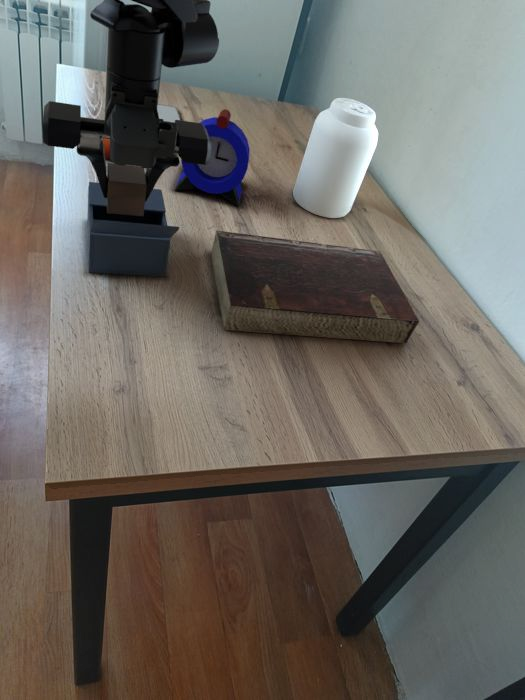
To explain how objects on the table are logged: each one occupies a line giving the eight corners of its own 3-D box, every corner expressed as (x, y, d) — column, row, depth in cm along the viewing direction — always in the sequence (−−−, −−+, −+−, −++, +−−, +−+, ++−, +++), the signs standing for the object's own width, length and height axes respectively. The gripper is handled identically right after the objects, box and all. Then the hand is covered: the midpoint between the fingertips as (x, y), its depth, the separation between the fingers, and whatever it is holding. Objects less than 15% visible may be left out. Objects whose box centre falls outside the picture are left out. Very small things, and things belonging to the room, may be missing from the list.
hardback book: (369, 271, 97) (380, 248, 93) (405, 345, 84) (419, 321, 80) (210, 253, 88) (216, 227, 85) (223, 331, 76) (230, 304, 72)
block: (107, 213, 67) (108, 180, 64) (106, 194, 70) (107, 162, 67) (143, 216, 69) (146, 184, 66) (141, 198, 72) (144, 166, 69)
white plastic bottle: (346, 195, 117) (383, 102, 103) (352, 225, 107) (392, 127, 94) (291, 181, 115) (320, 85, 101) (291, 211, 106) (324, 108, 92)
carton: (165, 276, 81) (171, 236, 76) (88, 272, 77) (89, 229, 73) (156, 228, 90) (161, 189, 85) (87, 222, 86) (88, 181, 81)
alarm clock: (173, 192, 99) (185, 111, 89) (184, 164, 108) (196, 87, 98) (238, 208, 101) (257, 131, 91) (243, 179, 110) (261, 105, 100)
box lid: (170, 236, 76) (170, 238, 76) (90, 229, 73) (90, 231, 73) (179, 226, 70) (179, 229, 70) (92, 219, 67) (92, 221, 67)
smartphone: (177, 107, 126) (186, 135, 116) (176, 109, 127) (185, 138, 117) (145, 101, 124) (151, 130, 114) (144, 104, 124) (151, 133, 114)
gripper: (36, 85, 50) (43, 228, 61) (230, 115, 56) (205, 240, 67) (42, 44, 57) (47, 178, 68) (213, 74, 63) (193, 193, 74)
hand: (124, 198), depth 69 cm, fingers closed on block, 4 cm apart
